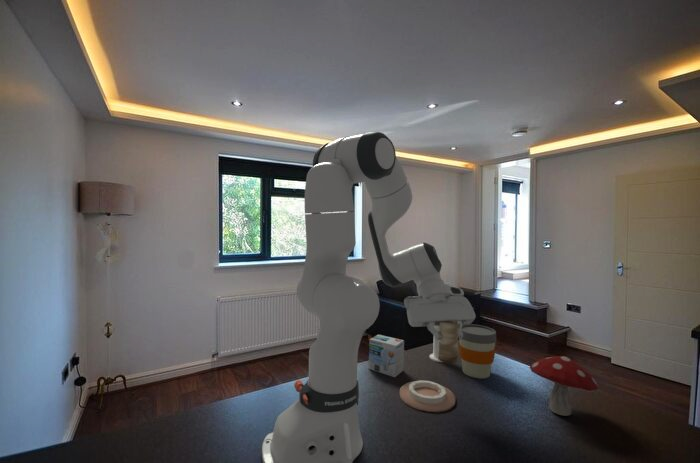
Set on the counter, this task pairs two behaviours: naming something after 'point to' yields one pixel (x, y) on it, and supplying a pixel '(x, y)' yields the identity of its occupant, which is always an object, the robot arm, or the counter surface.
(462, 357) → the reusable coffee cup
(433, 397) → the collar dish
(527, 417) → the counter surface
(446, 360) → the beige cylinder
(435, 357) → the candle
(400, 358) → the light bulb box
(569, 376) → the decorative mushroom
